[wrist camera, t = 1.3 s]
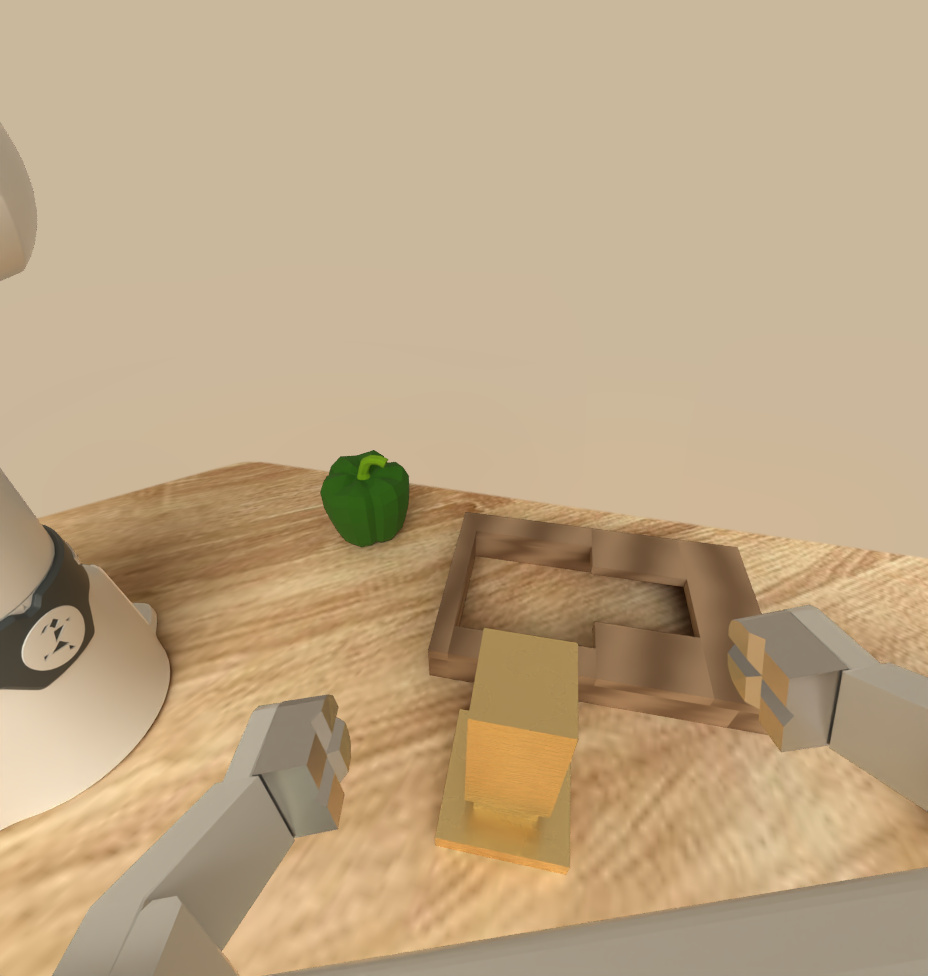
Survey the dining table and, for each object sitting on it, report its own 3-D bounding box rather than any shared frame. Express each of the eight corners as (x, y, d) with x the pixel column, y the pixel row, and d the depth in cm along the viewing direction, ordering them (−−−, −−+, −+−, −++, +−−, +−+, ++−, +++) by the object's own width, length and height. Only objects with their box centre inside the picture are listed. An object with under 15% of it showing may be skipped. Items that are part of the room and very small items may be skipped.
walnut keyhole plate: (429, 674, 39) (428, 649, 37) (465, 536, 51) (465, 511, 49) (775, 736, 35) (797, 712, 33) (724, 572, 48) (737, 547, 45)
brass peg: (435, 845, 30) (428, 745, 21) (459, 718, 36) (461, 601, 27) (566, 874, 29) (614, 782, 20) (567, 739, 35) (605, 623, 26)
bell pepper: (314, 533, 51) (295, 456, 45) (372, 495, 56) (362, 421, 50) (369, 572, 47) (356, 493, 41) (426, 527, 52) (422, 451, 46)
